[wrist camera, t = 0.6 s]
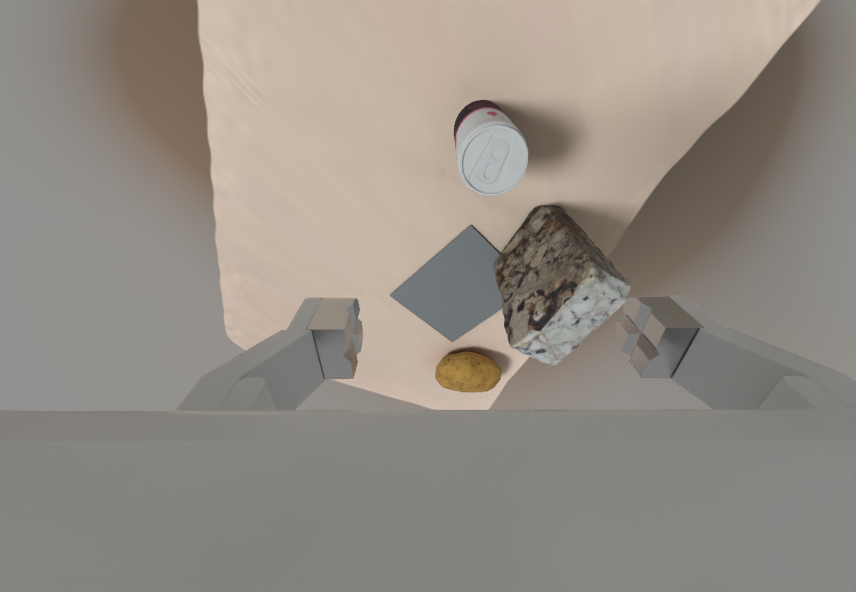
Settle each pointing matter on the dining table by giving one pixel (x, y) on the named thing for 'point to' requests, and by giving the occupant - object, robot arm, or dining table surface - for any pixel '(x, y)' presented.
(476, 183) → the beverage can
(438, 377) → the potato
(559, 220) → the stone block
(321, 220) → the dining table surface
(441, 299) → the mat
